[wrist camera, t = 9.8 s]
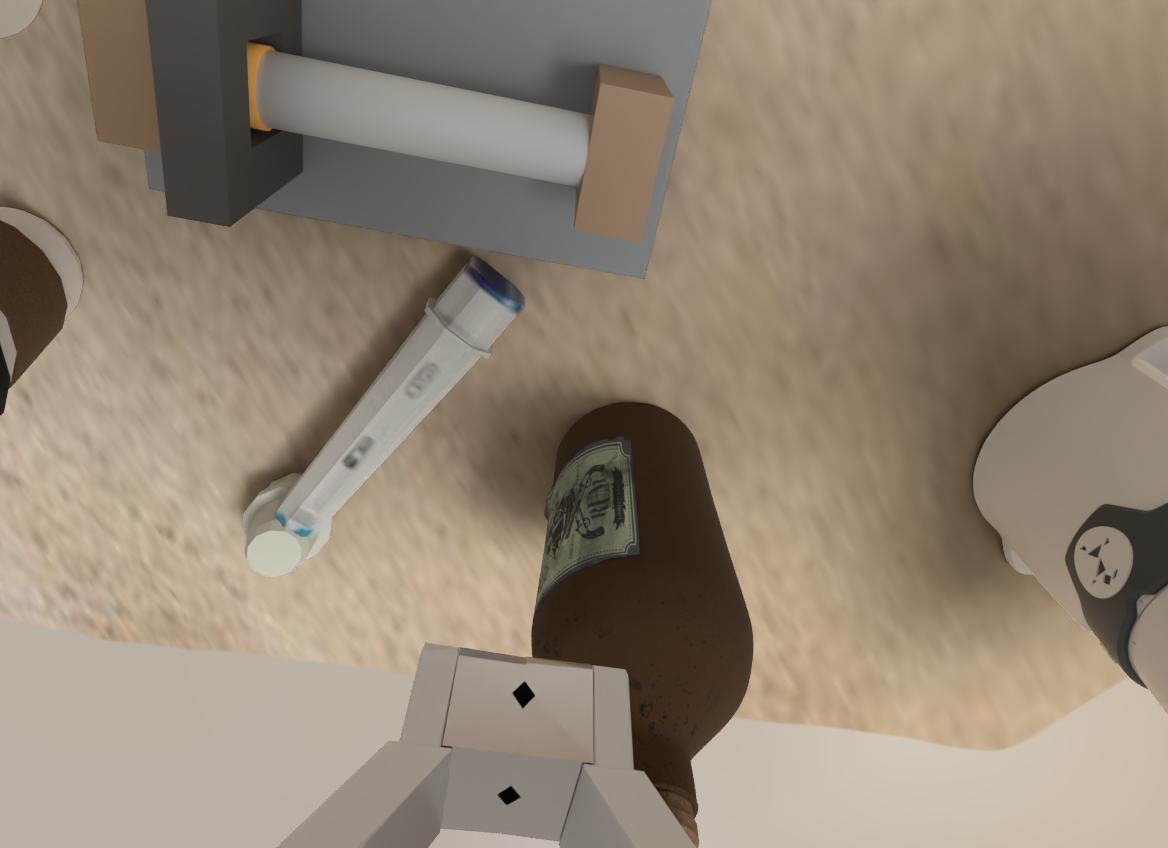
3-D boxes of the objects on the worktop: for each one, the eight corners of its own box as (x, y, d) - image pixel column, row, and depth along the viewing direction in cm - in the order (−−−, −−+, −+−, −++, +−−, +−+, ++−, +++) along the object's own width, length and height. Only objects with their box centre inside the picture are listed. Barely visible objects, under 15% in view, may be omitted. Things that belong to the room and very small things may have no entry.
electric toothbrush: (537, 322, 40) (279, 618, 47) (533, 288, 46) (305, 554, 53) (457, 259, 38) (201, 576, 45) (464, 232, 44) (237, 515, 51)
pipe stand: (710, -15, 35) (740, -7, 28) (642, 269, 42) (653, 330, 35) (129, -143, 33) (5, -169, 26) (163, 181, 40) (73, 228, 33)
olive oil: (742, 462, 49) (859, 846, 28) (626, 550, 53) (650, 945, 32) (629, 360, 45) (664, 717, 24) (513, 464, 49) (455, 847, 28)
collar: (301, -37, 33) (214, -34, 25) (303, 171, 38) (230, 226, 30) (244, -48, 33) (140, -49, 25) (253, 162, 37) (167, 215, 30)
